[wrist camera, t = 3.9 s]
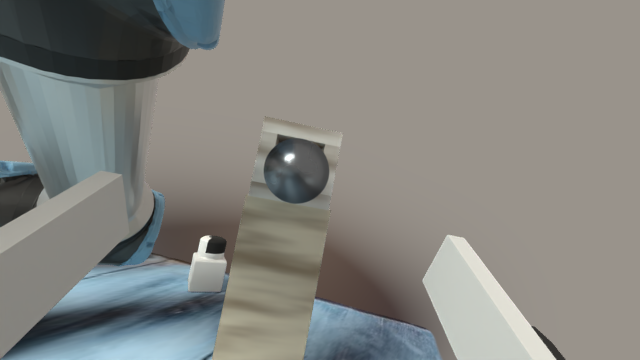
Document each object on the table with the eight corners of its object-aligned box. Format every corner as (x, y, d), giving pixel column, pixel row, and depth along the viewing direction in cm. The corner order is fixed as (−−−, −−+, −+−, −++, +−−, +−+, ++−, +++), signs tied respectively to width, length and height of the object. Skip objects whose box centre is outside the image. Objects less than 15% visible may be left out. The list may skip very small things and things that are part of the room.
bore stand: (300, 473, 25) (361, 135, 27) (170, 463, 24) (245, 110, 26) (297, 383, 37) (339, 153, 39) (210, 373, 36) (259, 136, 38)
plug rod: (331, 223, 13) (349, 136, 13) (242, 207, 13) (260, 116, 13) (307, 186, 39) (313, 156, 39) (277, 180, 39) (283, 150, 38)
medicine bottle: (217, 281, 69) (227, 235, 70) (221, 292, 62) (231, 241, 63) (187, 280, 65) (198, 232, 66) (187, 292, 59) (199, 239, 60)
